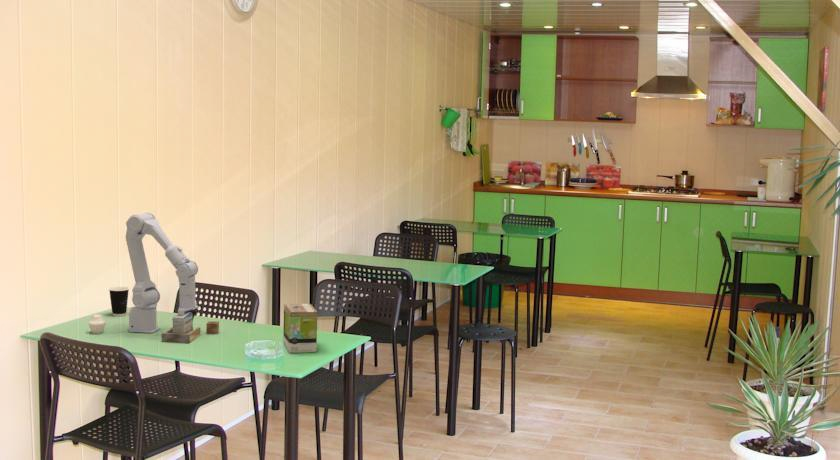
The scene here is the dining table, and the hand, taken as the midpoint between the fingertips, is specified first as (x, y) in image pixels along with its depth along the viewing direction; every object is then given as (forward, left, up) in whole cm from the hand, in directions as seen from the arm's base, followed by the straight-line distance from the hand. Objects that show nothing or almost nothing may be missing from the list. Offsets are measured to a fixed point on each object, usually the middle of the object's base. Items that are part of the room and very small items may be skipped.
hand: (187, 330), depth 336 cm
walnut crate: (+8, +5, -2) cm, 9 cm away
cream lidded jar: (-33, -4, -2) cm, 34 cm away
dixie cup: (-38, +26, -2) cm, 47 cm away
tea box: (+45, -10, -2) cm, 46 cm away
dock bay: (0, -6, -2) cm, 6 cm away
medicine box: (0, -5, -2) cm, 5 cm away
